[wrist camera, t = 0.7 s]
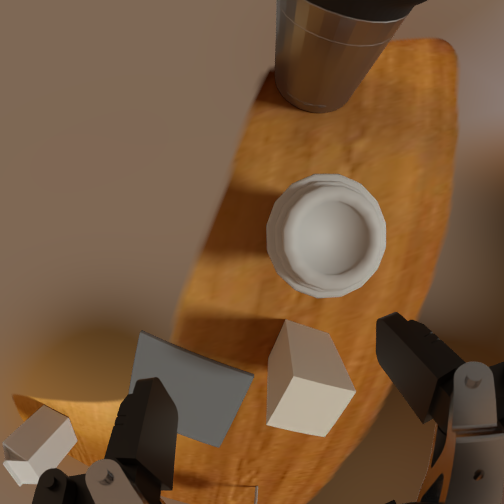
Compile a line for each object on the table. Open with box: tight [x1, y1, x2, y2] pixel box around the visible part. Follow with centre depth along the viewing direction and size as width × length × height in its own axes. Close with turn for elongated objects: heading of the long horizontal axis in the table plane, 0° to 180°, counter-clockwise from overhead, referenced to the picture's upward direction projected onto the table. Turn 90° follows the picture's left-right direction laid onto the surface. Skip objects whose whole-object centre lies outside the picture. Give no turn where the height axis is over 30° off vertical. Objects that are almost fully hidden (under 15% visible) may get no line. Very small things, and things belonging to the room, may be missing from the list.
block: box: [266, 319, 356, 437], centre depth 25 cm, size 6×6×12 cm
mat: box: [129, 330, 254, 447], centre depth 33 cm, size 15×15×1 cm
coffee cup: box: [266, 174, 386, 298], centre depth 23 cm, size 9×9×12 cm
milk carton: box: [3, 405, 77, 486], centre depth 27 cm, size 7×7×19 cm
